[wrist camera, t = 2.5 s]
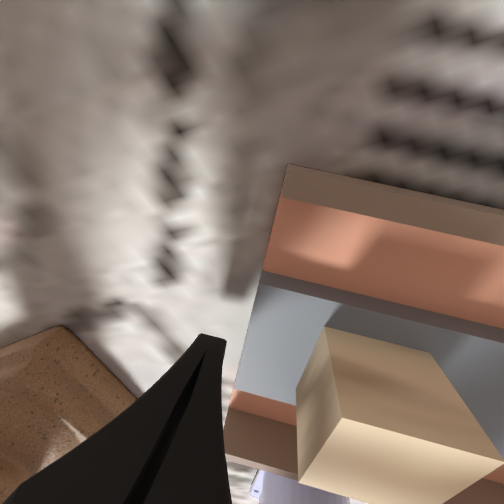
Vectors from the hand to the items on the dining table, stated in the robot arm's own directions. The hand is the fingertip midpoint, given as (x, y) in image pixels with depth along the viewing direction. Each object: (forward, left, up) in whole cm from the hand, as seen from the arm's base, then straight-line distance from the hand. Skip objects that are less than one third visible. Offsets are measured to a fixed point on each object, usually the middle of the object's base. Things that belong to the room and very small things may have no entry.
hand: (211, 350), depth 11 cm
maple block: (0, -8, -1) cm, 8 cm away
